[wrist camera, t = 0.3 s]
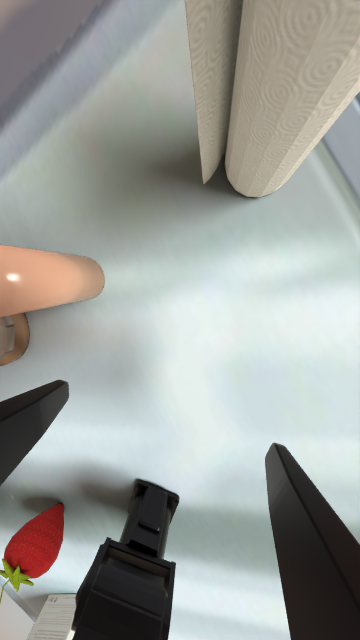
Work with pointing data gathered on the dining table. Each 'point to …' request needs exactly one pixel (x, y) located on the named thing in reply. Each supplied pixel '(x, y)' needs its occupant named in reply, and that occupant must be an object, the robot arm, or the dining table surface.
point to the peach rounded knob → (45, 279)
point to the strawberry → (34, 547)
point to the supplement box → (55, 619)
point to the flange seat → (13, 337)
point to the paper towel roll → (269, 82)
